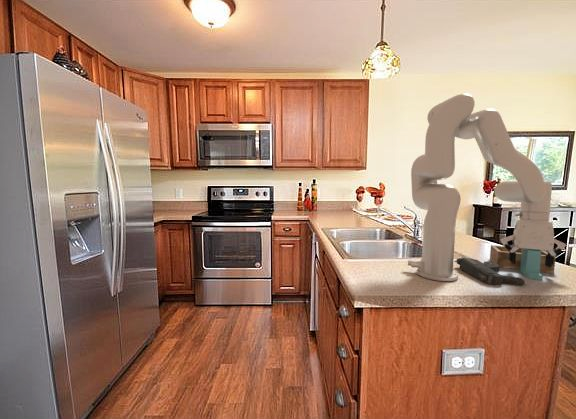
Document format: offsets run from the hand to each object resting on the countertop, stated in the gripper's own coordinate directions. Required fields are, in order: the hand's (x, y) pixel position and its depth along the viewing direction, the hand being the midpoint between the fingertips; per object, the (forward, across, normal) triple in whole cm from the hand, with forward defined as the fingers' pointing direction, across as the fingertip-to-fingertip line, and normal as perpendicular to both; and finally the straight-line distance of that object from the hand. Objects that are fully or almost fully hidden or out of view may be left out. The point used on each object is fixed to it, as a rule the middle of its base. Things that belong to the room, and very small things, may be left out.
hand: (530, 264), depth 95 cm
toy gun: (+4, -13, -8) cm, 16 cm away
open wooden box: (+3, 0, +11) cm, 12 cm away
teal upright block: (+3, 0, -1) cm, 4 cm away
